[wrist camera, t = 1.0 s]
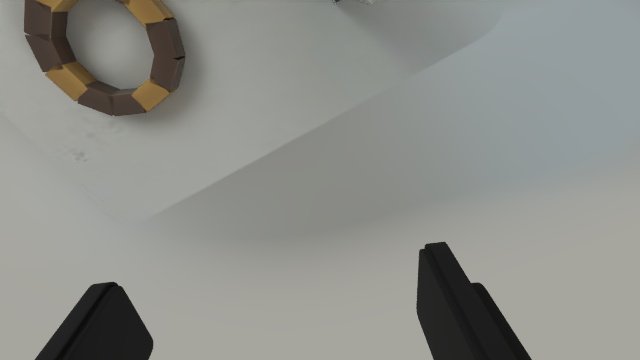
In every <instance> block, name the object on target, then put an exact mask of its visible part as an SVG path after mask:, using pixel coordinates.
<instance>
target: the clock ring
mask: <svg viewBox="0 0 640 360" xmlns="http://www.w3.org/2000/svg"><path fill="white" fill-rule="evenodd" d="M77 1H78V0H25V16H24V32H25V33H27V34H29V35H25V37H26V39H27V41H28V43H29V45H30V47H31V49H32V51H33V53H34V55H35V57H36V59H37V61H38V63H39V65H40V67H41V69H42V71H43V72H47V73H46V74H45V75H46V76H47V77H48V78H49V79H50V80H51V81H53V82H54V83H55V84H56V85H57V86H58V87H59V88H60V89H61V90H63V91H64V92H65V93H66V94H67V95H68V96H69V97H70V98H72V99H73V100H74V101H78V104H81V105H84V106H87V107H89V108H92V109H95V110H97V111H100V112H103V113H105V114H108V115H111V116H112V115H114V116H121V115H130V114H140V113H146V112H149V111H150V110H152V109H153V108H154V107H156V106H157V105H158V104H160V103H161V102H162V101H163V100H164V99H165V98H167V97H168V96H169V95H170V94H171V93H173V92H174V91H175V90H176V89H177V87H178V85H179V81H180V77H181V73H182V69H183V65H184V61H185V57H184V55H185V52H184V48H183V45H182V41H181V37H180V34H179V30H178V27H177V23H176V20H175V19H172V18H173V17H174V16H173V15H172V13H171V12H170V11H169V10H168V9H167V7H166V6H165V5H164V4H163V3H162V1H161V0H116V1H118V2H120V3H123V4H125V6H126V7H127V8H128V9H129V10H130V11H131V12H132V13H133V15H134V16H135V17H136V18H137V19H138V20H139V21H140V22H141V23H142V25H143V26H144V27H145V28H146V30H147V33H148V37H149V40H150V43H151V46H152V49H153V52H154V60H153V65H152V70H151V74H150V78H149V79H148V80H147V81H146V82H145V83H144V84H142V85H141V86H140V87H139V88H134V89H125V90H120V89H117V88H115V87H112V86H109V85H107V84H104V83H102V82H99V81H97V80H96V79H95V78H94V77H93V76H92V75H91V74H89V73H88V72H87V71H86V70H85V69H84V68H83V67H82V66H81V65H80V64H79V63H78V62H77V61H76V59H75V56H74V54H73V52H72V49H71V47H70V45H69V43H68V40H67V38H66V24H67V12H68V10H69V9H70V8H71V7H72V6H73V5H74V4H75V3H76V2H77Z"/></svg>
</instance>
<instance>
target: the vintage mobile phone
mask: <svg viewBox="0 0 640 360" xmlns="http://www.w3.org/2000/svg"><path fill="white" fill-rule="evenodd" d="M332 1H333V3H334V4H337V3H339V2H340V1H341V0H332ZM357 1H359V2H362V3H365V4H372V3H373V2H375V1H376V0H357Z"/></svg>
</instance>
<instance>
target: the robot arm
mask: <svg viewBox="0 0 640 360" xmlns="http://www.w3.org/2000/svg"><path fill="white" fill-rule="evenodd" d="M417 315H418V318H419V321H420V324H421V327H422V329H423V332H424V335H425V337H426V340H427V343H428V345H429V348H430V351H431V353H432V356H433V359H434V360H532V359H531V358H530V356H529V355H528V353H527V352H526V350H525V349H524V347H523V346H522V344H521V343H520V341H519V339H518V338H517V336H516V335H515V333H514V332H513V330H512V329H511V327H510V325H509V324H508V322H507V321H506V319H505V318H504V316H503V315H502V313H501V312H500V310H499V308H498V307H497V305H496V304H495V302H494V301H493V299H492V298H491V296H490V295H489V293H488V291H487V290H486V289H485V287H484V286H483V285H482V284H480V283H470V281H469V279H468V278H467V276H466V275H465V273H464V271H463V270H462V268H461V266H460V265H459V263H458V261H457V260H456V258H455V257H454V255H453V253H452V252H451V250H450V248H449V247H448V245H447V244H446V243H445V242H439V243H430V244H426V245H425V249H421V250H420V251H419V268H418V288H417ZM152 349H153V339H152V337H151V335H150V334H149V332H148V330H147V329H146V327H145V325H144V323H143V322H142V320H141V318H140V316H139V315H138V313H137V311H136V310H135V308H134V306H133V304H132V303H131V301H130V299H129V297H128V296H127V294H126V293H125V291H124V289H123V288H122V287H121V286H118V284H117V283H115V282H108V283H99V284H93V285H91V286H90V287H89V288H88V290H87V291H86V292H85V294H84V295H83V296H82V298H81V299H80V300H79V302H78V303H77V304H76V306H75V307H74V308H73V310H72V311H71V312H70V314H69V315H68V316H67V318H66V319H65V320H64V321H63V323H62V324H61V325H60V327H59V328H58V329H57V331H56V332H55V333H54V335H53V336H52V338H51V339H50V340H49V342H48V343H47V344H46V345H45V347H44V348H43V350H42V351H41V352H40V353H39V355H38V356H37V357H36V359H35V360H148V359H149V357H150V355H151V352H152Z"/></svg>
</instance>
